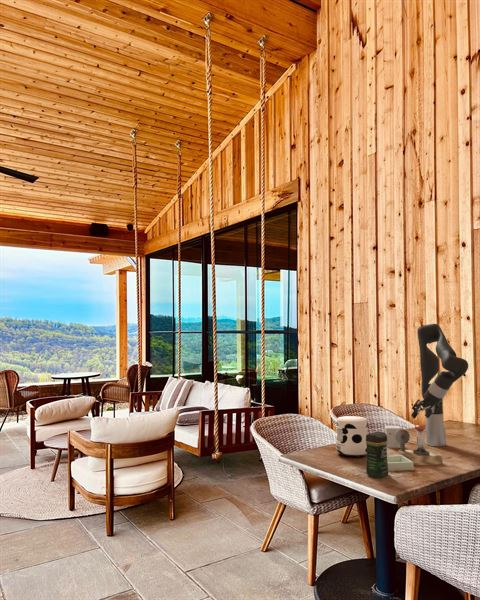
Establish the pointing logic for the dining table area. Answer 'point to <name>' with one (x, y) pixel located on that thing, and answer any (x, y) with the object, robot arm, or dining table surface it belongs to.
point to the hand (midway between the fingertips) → (419, 417)
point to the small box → (392, 436)
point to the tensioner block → (413, 455)
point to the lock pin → (420, 437)
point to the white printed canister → (352, 436)
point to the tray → (399, 463)
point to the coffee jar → (376, 454)
